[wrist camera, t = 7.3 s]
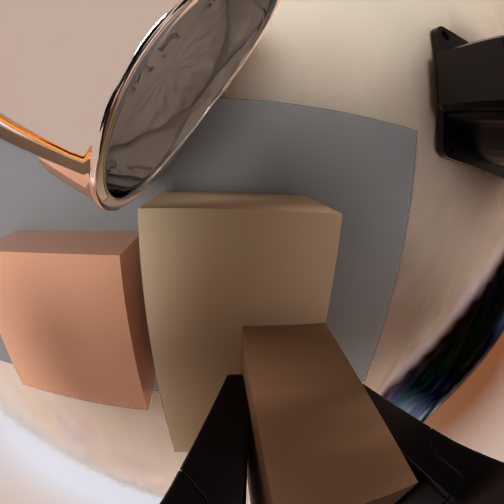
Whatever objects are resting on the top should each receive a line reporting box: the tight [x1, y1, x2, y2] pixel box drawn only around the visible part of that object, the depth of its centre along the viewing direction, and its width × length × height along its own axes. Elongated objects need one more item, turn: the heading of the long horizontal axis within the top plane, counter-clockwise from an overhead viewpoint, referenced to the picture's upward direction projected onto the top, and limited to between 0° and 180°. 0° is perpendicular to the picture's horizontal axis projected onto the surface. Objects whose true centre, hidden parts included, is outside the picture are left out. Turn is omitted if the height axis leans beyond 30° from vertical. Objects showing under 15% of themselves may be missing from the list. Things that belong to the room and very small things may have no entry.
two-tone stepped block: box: [138, 192, 418, 504], centre depth 7 cm, size 5×9×8 cm, turn 177°
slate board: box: [0, 98, 417, 391], centre depth 8 cm, size 24×12×3 cm, turn 87°
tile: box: [0, 231, 156, 410], centre depth 9 cm, size 6×6×2 cm
